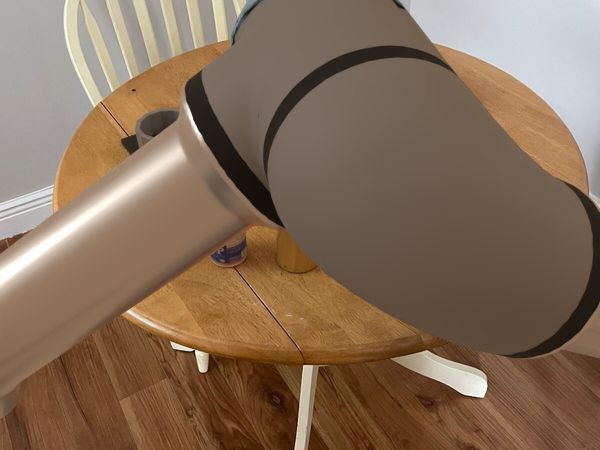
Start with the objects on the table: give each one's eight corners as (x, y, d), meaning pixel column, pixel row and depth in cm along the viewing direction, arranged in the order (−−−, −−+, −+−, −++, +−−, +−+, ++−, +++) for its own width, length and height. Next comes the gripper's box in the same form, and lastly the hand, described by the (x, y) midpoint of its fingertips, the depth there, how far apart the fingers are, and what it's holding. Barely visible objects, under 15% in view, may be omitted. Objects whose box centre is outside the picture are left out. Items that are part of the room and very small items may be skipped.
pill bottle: (201, 253, 80) (193, 204, 74) (232, 235, 83) (227, 187, 77) (224, 274, 77) (218, 225, 71) (255, 255, 80) (252, 206, 74)
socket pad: (152, 180, 92) (146, 154, 89) (121, 144, 99) (115, 118, 96) (218, 154, 97) (215, 128, 94) (185, 121, 104) (181, 96, 101)
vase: (304, 280, 77) (305, 197, 67) (266, 262, 79) (262, 179, 69) (328, 252, 80) (332, 169, 71) (291, 235, 83) (290, 153, 73)
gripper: (512, 390, 59) (318, 320, 65) (546, 234, 75) (389, 190, 82) (532, 346, 54) (320, 274, 60) (564, 189, 70) (395, 146, 77)
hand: (359, 226), depth 71 cm, fingers open, 13 cm apart
